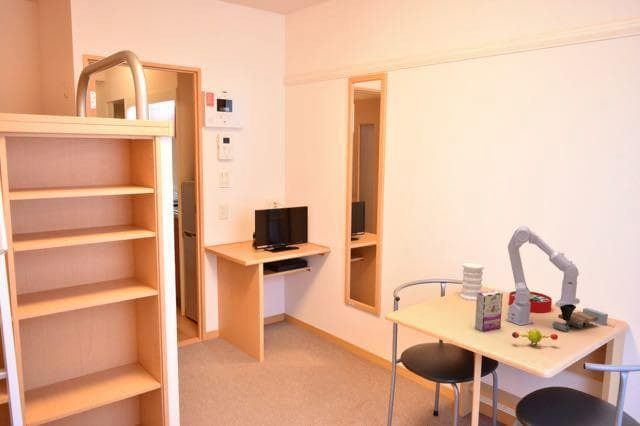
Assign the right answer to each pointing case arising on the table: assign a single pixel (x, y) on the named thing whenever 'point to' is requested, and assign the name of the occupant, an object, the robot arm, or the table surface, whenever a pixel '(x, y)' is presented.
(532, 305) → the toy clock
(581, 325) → the roller
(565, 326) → the roller
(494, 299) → the candy bar box
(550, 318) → the table surface
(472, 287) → the decorative container
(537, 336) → the toy figure
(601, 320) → the block
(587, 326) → the roller
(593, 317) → the slab
